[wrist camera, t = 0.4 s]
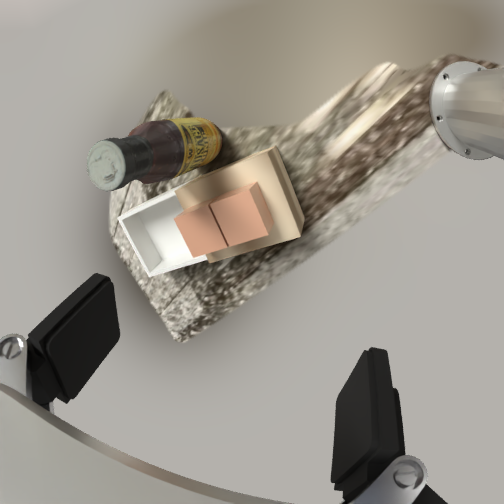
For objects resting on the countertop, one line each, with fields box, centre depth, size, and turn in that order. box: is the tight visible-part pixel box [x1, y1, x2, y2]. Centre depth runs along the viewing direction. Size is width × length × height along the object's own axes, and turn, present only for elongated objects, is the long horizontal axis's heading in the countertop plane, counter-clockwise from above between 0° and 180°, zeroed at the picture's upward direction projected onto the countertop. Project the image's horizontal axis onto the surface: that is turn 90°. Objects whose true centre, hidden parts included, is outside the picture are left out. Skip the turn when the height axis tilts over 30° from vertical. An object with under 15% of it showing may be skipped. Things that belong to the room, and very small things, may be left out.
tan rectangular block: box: [174, 146, 305, 263], centre depth 37 cm, size 12×10×6 cm
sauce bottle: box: [87, 118, 222, 191], centre depth 29 cm, size 6×6×20 cm
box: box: [118, 180, 208, 277], centre depth 42 cm, size 12×10×4 cm
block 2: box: [210, 181, 274, 247], centre depth 33 cm, size 4×5×4 cm
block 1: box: [174, 196, 229, 258], centre depth 35 cm, size 4×5×4 cm
